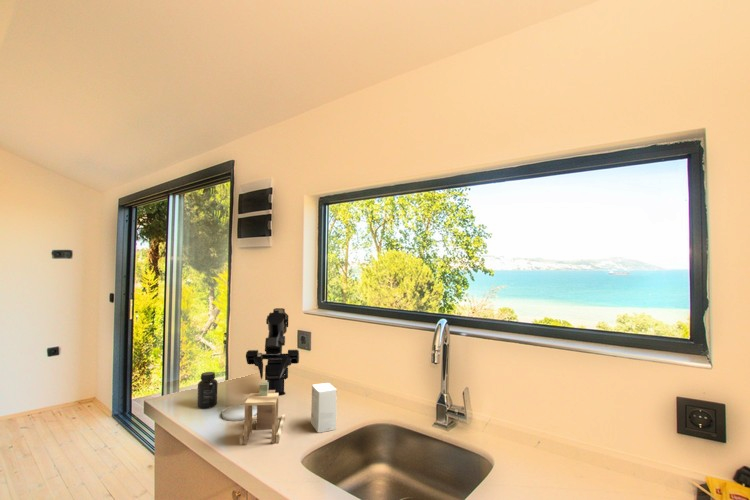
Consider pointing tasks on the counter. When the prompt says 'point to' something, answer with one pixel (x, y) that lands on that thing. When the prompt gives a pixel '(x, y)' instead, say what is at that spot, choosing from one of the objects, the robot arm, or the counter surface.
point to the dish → (237, 412)
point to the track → (276, 433)
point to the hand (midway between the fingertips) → (270, 378)
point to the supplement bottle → (207, 391)
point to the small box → (323, 407)
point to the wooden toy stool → (261, 399)
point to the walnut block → (264, 416)
